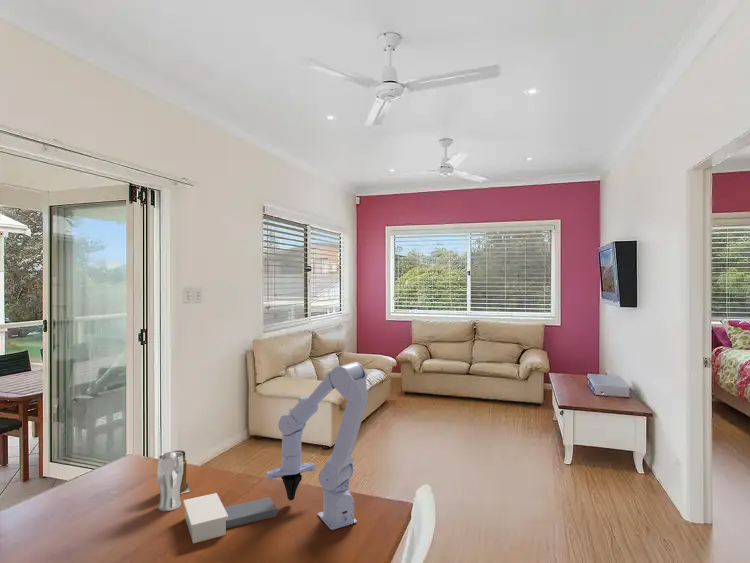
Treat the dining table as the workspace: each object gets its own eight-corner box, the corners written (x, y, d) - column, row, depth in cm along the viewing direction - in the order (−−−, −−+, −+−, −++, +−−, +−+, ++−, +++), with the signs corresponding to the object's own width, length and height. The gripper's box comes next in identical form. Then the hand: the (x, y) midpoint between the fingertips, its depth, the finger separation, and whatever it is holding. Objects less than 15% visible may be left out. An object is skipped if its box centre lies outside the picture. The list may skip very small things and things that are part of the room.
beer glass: (164, 514, 126) (165, 462, 126) (152, 507, 130) (153, 456, 130) (187, 505, 132) (188, 454, 132) (175, 498, 136) (175, 449, 136)
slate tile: (277, 517, 126) (277, 508, 126) (226, 530, 120) (226, 520, 120) (269, 505, 133) (269, 497, 133) (220, 516, 127) (221, 507, 127)
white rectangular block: (227, 535, 116) (228, 516, 116) (191, 545, 112) (191, 525, 112) (216, 510, 129) (216, 492, 129) (183, 518, 124) (183, 500, 125)
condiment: (164, 497, 136) (165, 458, 137) (163, 486, 144) (163, 449, 144) (189, 492, 140) (190, 454, 140) (187, 482, 147) (187, 445, 148)
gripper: (309, 445, 140) (308, 488, 140) (263, 453, 133) (262, 498, 133) (317, 452, 134) (317, 497, 134) (271, 461, 127) (270, 508, 127)
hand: (290, 498), depth 133 cm, fingers closed
